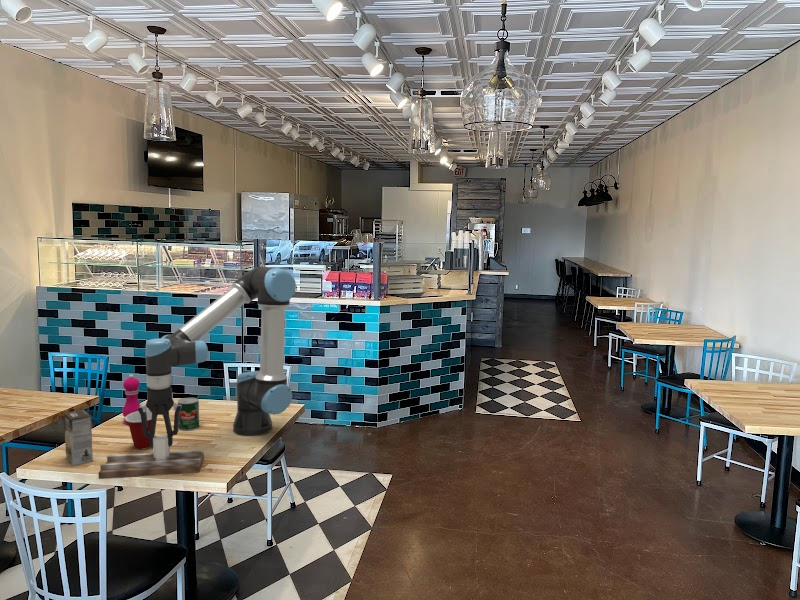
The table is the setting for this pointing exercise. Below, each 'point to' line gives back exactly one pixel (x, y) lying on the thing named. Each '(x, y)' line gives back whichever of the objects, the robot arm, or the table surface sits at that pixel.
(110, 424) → the table surface
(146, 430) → the robot arm
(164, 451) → the fader tab
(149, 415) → the plastic cup
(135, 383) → the pepper mill
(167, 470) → the fader track
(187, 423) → the canned tomato
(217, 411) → the table surface
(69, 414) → the coffee box
